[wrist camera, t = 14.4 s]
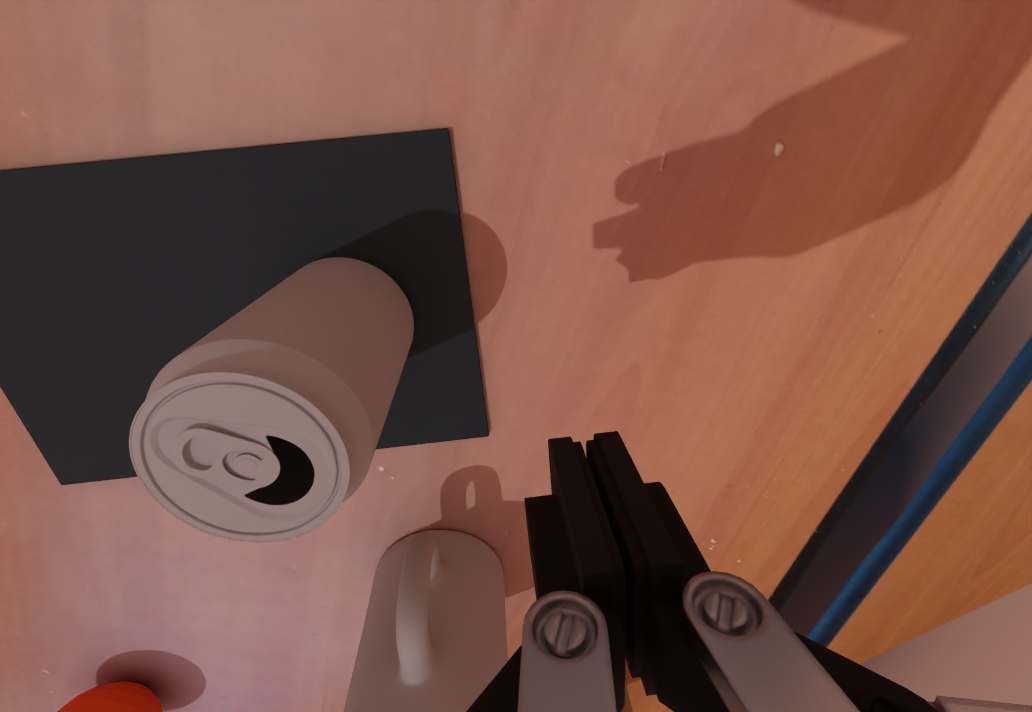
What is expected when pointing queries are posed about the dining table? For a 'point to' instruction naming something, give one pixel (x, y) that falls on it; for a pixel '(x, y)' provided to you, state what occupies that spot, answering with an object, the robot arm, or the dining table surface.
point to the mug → (431, 626)
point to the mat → (220, 278)
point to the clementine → (115, 699)
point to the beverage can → (277, 405)
